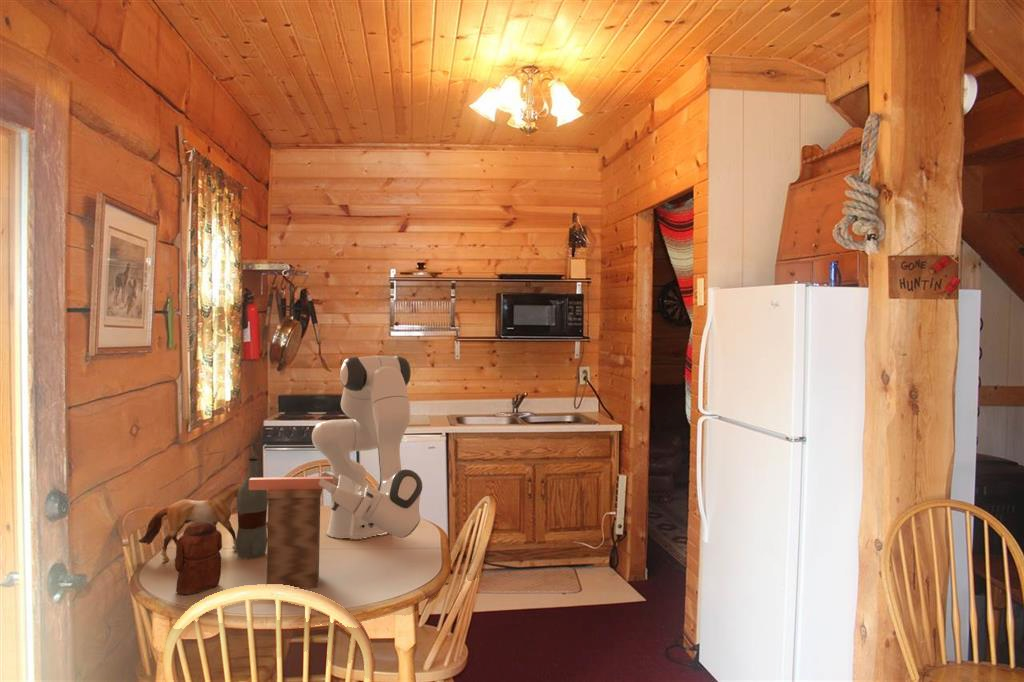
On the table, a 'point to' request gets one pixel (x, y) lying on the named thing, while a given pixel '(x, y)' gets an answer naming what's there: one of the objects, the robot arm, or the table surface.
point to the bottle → (251, 517)
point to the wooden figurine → (198, 558)
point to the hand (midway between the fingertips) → (320, 477)
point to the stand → (293, 537)
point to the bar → (287, 483)
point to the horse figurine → (194, 515)
